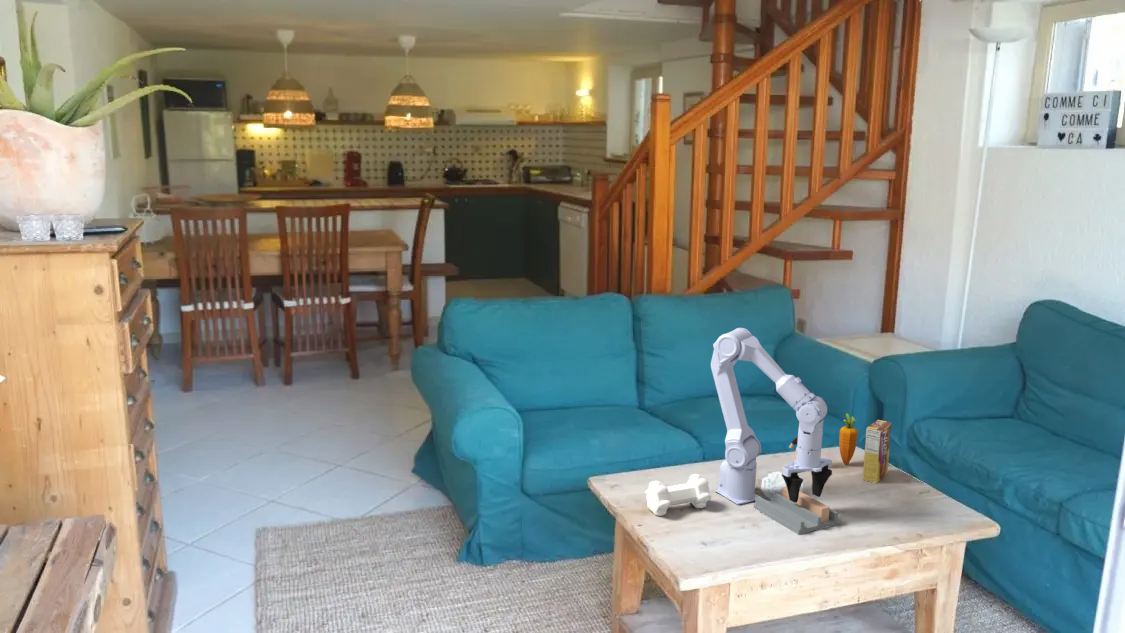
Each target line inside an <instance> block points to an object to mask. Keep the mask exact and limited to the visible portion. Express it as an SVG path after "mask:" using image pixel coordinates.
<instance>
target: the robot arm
mask: <svg viewBox="0 0 1125 633" xmlns="http://www.w3.org/2000/svg"><path fill="white" fill-rule="evenodd" d="M712 346H713V351H712V357H711V361H710V369H711V374H712V376H713V377H712V378H713V380H714V384H715V389H716V392H717V395H718V399H719V403H720V404H719V405H720V407H721V412H722V414H723V419H724V422H725V427H726V431H727V432H726V436H725V438H724V443H725V444H724V445H725V452H724V457H725V459H724V460H723V461H722V463H721V464H720V466H719V470H718V471H719V472H718V473H719V474H718V486H717V487H718V488H716V489H715V492H716V493H717V494H719V495H721V496H723V497H725V498H726V499H728V500H730V501H731V502H733V503H734V504H736V505H742V504H747V503H752V502H756V497H758V496H759V497H761V498H763V497H762V496H760V495H758V494H756V480H757V478H756V477H757V465H758V463H757V458H758V457H759V456H760V454H761V452H762V445H761V442H760V441H759V439H758V438H757V436H756V435H755V432H754V429H753V428H751V427H750V425H748V421H747V417H746V413H745V409H744V405H743V401H742V398H741V393H740V390H739V386H738V382H737V379H736V378H737V377H736V373H735V371H734V366H735V364H736V363H737V362H738V361H743V362H745V361H746V362H752V363H753V364H754V365H755V366H756V367H757V368H759V370H761V372H763V374H765V375H766V376H767V377H768V378H769V379H770V380H772V381H773V383H775V389H776V390H775V391H776V392H777V393H778V394H779V396H781V397H782V399H784V401H785V402H786V403H787V404H788V406H790V407H791V408H792V409H793V410H794V411H795V415H796V418H797V420H798V422H799V423H798V431H797V437H798V442H797V444H796V445H797V446H796V447H797V454H796V461H794V460H793V462H791V463H789V464H788V465H785V466H782V470H781V477H782V479H783V480H784V482H785V487H787V489H788V494H789V500H791V501H792V502H794V503H796V502H797V501H798V497H799V491H800V488H801V486H802V484H803V481H804V478H802V477H800V475H798V474H801V473H806V472H810V473H811V493H812V495H813V496H815V497H817V498H820V497H821V495H822V493H823V490H824V488H825V485H826V483H827V481H828V480H829V478H830V477H831V476H832V475H833V470H832V469H830V468H832V466H833V465H832V464H833V459H832V458H828V457H822V456H821V455H822V454H821V452H822V444H823V443H822V442H823V433H824V429H823V427H824V418H825V417H826V415H827V414H828V406H827V403H826V402H825V400H824V399H823V398H822V397H820V396H816V394H814V392H811V391H810V390H809V389H808V388H807V387H806V386H805V385H804V384H803V383H802V379H801V378H800V377H799V376H797V377H796V376H795V375H793V374H787V373H785V371H784V370H783V369H782V368H781V366H780V365H779V364H778V363H777V362H776V361H775V359H773V358H772V356H770V354H769V353H768V352H767V351H766V350H765V348H764V347H763V346H762V345H761V343H760V341H759V339H758V337H756V336H754V335H753V334H752V333H751V332H750V331H749V329H747V328H744V327H737V328H735V329H734V330H731V331H729V332H727V333H723V334H721V335H720V336H719V337H718V338H717V340H716V341H715V342H714V343H712Z"/></svg>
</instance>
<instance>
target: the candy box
mask: <svg viewBox="0 0 1125 633" xmlns="http://www.w3.org/2000/svg"><path fill="white" fill-rule="evenodd" d="M891 429H892V422H891V421H886V420H880V419H877V420H875V421H874V422H873V423H871V424H870V425H869V426H867V427H866V430H865V431H866V432H865V442H864V443H865V444H864V445H865V446H864V455H863V456H864V459H863V472H862V480H863V481H865V480H867V482H869V481H871V482H870V483H873V482H875V483H874V484H878V483H879V482H880V481H881V480H882V479H884V477H886V475H888V472H889V471H888V469H889V459H890V458H889V457H890V444H891V443H890V442H891ZM877 482H878V483H877Z"/></svg>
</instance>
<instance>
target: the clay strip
mask: <svg viewBox="0 0 1125 633" xmlns="http://www.w3.org/2000/svg"><path fill="white" fill-rule="evenodd" d="M780 495H782V496H783V497H785V498H787V499H789V494H788V489H787V486H783V487H781V494H780ZM796 504H798V505H800V506H802V507H804V508H806V509H807V510H809V511H811V512H813V513H815V514H817V515H818V516H820V517H821V522H824V521H828V520H829V510H830V509H831V508H830V507H831V506H829V505H827V504H824V503H823V502H822V501H819V500H817V499H815V498H813V497H812V496H809V495H807V494H806V493H804V492H802V491H800V490H799V497H798V501H797V502H796Z"/></svg>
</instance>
